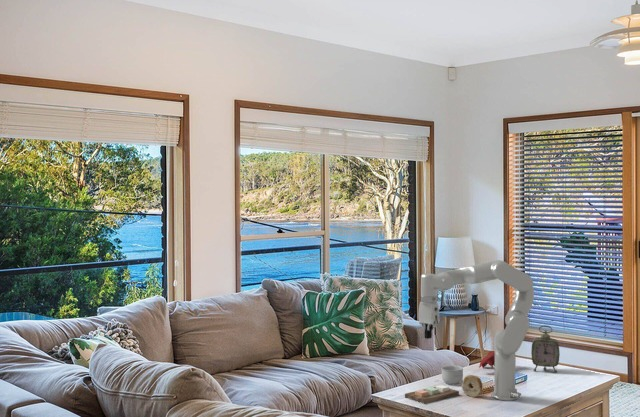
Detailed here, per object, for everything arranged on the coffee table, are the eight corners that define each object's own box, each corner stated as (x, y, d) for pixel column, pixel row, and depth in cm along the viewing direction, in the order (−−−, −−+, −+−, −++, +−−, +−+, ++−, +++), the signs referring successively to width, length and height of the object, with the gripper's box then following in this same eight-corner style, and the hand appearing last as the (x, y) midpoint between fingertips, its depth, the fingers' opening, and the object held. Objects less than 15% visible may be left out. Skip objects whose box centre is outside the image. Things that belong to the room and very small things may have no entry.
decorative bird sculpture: (475, 381, 375) (491, 364, 368) (464, 367, 380) (480, 350, 373) (504, 372, 394) (520, 356, 387) (494, 359, 399) (510, 343, 392)
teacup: (456, 387, 347) (457, 371, 347) (437, 383, 354) (437, 367, 354) (469, 381, 358) (469, 365, 358) (449, 378, 365) (450, 362, 365)
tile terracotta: (428, 397, 326) (428, 391, 326) (421, 398, 324) (421, 393, 324) (421, 394, 330) (421, 389, 330) (414, 396, 327) (414, 391, 327)
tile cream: (448, 392, 335) (448, 387, 335) (442, 393, 332) (442, 388, 332) (442, 390, 338) (442, 385, 338) (435, 391, 336) (435, 386, 335)
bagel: (484, 397, 329) (484, 376, 329) (479, 399, 327) (479, 377, 327) (465, 393, 337) (465, 372, 337) (461, 394, 334) (461, 373, 334)
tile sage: (438, 394, 330) (438, 389, 330) (432, 396, 328) (432, 390, 328) (431, 392, 334) (431, 387, 334) (425, 393, 331) (425, 388, 331)
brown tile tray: (458, 394, 333) (458, 391, 333) (423, 403, 319) (423, 399, 319) (440, 389, 343) (440, 385, 343) (404, 397, 328) (404, 393, 328)
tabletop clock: (531, 371, 379) (531, 326, 379) (531, 368, 388) (531, 323, 387) (559, 374, 375) (560, 327, 374) (558, 370, 384) (559, 324, 383)
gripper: (445, 301, 329) (445, 339, 329) (422, 297, 341) (422, 334, 341) (434, 302, 324) (434, 341, 325) (411, 298, 336) (411, 336, 337)
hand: (428, 338), depth 333 cm, fingers closed
